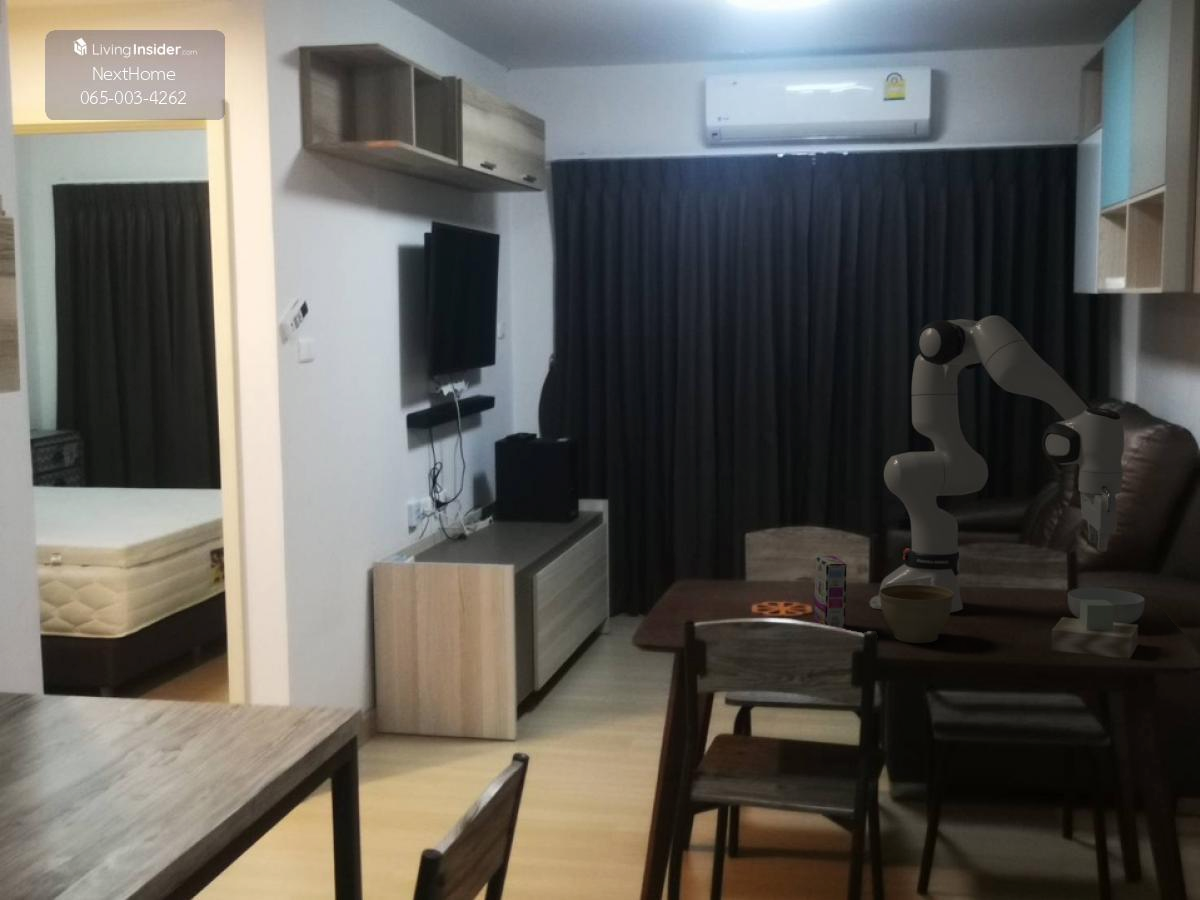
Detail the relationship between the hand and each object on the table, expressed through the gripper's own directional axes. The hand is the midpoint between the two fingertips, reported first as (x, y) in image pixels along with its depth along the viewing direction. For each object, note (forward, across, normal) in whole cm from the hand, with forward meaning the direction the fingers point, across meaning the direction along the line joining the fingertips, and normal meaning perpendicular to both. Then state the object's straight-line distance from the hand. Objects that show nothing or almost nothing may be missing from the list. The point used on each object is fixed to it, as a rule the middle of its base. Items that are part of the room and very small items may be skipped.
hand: (1097, 546), depth 292 cm
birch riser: (+23, 0, 0) cm, 23 cm away
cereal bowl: (+23, +22, -7) cm, 32 cm away
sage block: (+18, 0, 0) cm, 18 cm away
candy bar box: (+23, +9, +57) cm, 62 cm away
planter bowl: (+23, +2, +38) cm, 44 cm away
